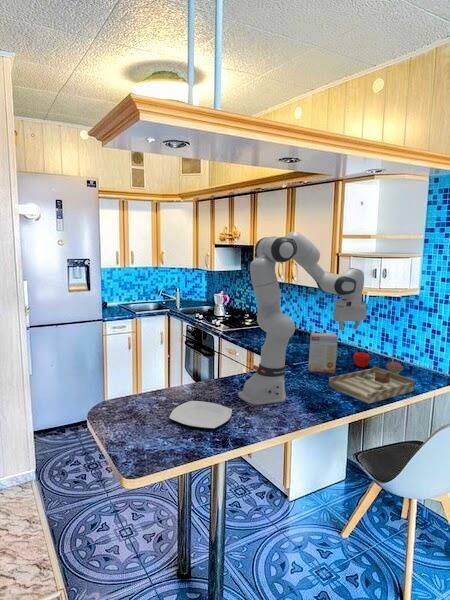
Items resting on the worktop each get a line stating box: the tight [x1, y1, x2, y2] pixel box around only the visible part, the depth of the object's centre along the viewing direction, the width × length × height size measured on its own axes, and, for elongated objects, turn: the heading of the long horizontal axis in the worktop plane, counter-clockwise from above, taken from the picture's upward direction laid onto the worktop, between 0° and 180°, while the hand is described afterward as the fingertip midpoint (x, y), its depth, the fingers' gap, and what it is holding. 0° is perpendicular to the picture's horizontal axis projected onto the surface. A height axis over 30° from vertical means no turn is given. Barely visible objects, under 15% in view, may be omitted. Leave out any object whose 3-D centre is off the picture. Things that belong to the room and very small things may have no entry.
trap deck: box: [327, 365, 416, 405], centre depth 206 cm, size 34×24×6 cm
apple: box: [353, 352, 371, 368], centre depth 242 cm, size 9×9×8 cm
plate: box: [168, 400, 233, 430], centre depth 166 cm, size 23×23×2 cm
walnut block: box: [375, 369, 390, 384], centre depth 210 cm, size 5×5×5 cm
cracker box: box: [307, 332, 339, 374], centre depth 229 cm, size 14×6×21 cm, turn 84°
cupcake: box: [385, 353, 404, 375], centre depth 229 cm, size 9×8×12 cm
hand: (348, 329), depth 206 cm, fingers open, 8 cm apart
